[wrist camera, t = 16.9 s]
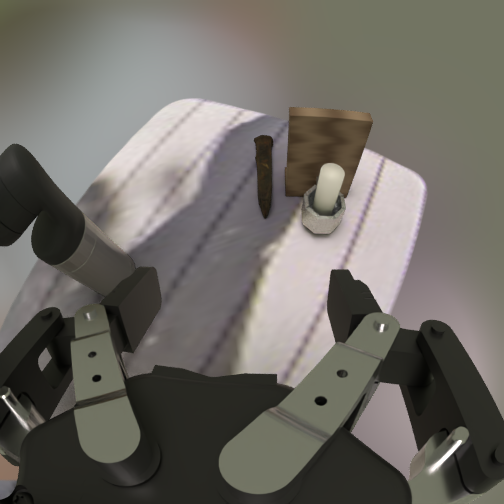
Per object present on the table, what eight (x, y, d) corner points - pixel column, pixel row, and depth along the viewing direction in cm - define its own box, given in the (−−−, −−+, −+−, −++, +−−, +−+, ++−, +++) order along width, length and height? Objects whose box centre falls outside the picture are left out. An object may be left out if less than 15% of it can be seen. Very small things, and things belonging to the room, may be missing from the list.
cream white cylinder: (311, 224, 47) (321, 181, 36) (310, 206, 48) (319, 162, 37) (331, 224, 47) (346, 182, 36) (329, 207, 48) (342, 163, 37)
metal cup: (302, 233, 47) (305, 218, 43) (300, 190, 51) (302, 173, 46) (340, 233, 47) (347, 219, 42) (335, 191, 50) (340, 175, 46)
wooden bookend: (285, 196, 53) (290, 115, 34) (284, 172, 55) (287, 92, 37) (346, 197, 52) (373, 121, 34) (341, 174, 54) (363, 98, 36)
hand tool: (255, 146, 59) (253, 131, 55) (273, 146, 59) (272, 131, 54) (250, 219, 52) (248, 206, 47) (272, 220, 51) (271, 206, 47)
